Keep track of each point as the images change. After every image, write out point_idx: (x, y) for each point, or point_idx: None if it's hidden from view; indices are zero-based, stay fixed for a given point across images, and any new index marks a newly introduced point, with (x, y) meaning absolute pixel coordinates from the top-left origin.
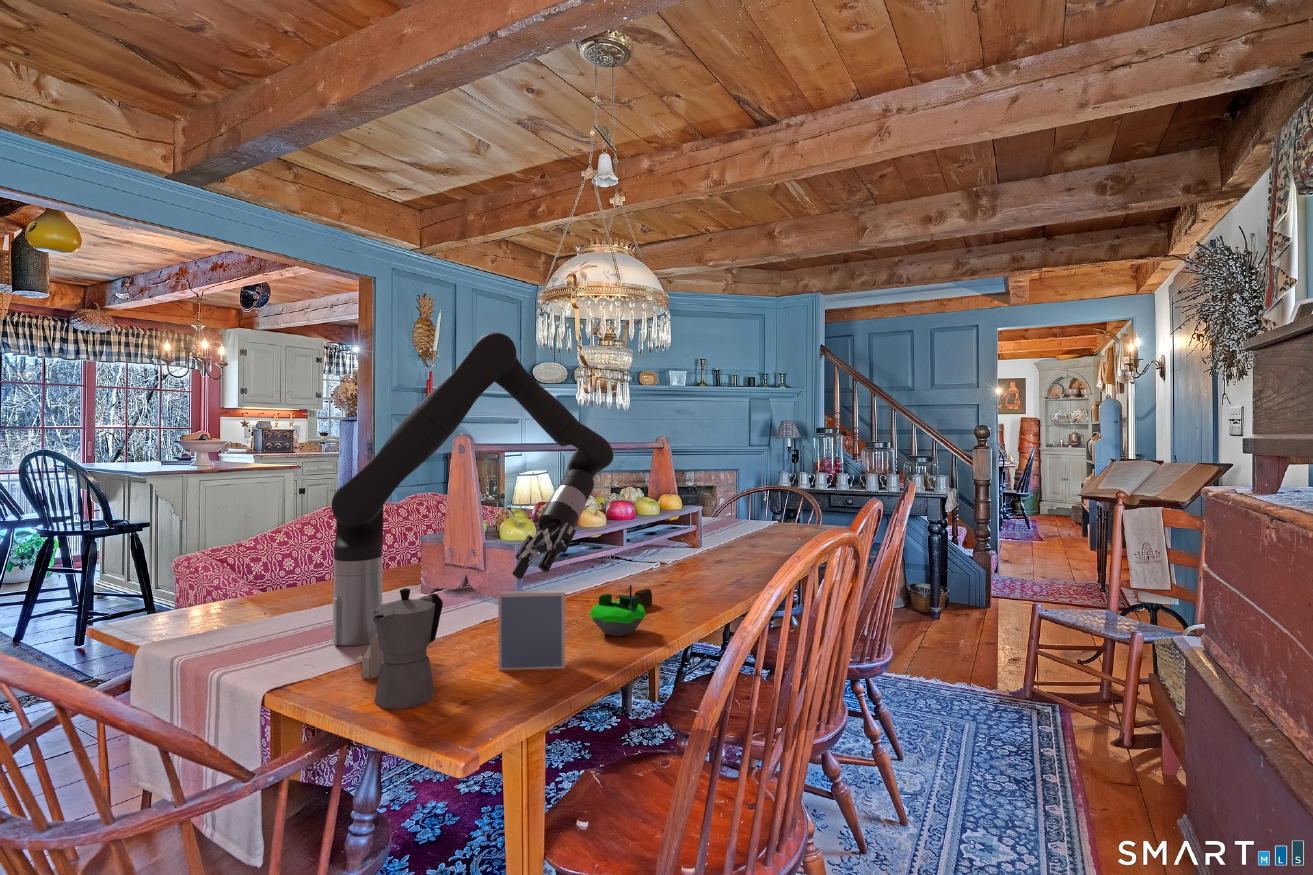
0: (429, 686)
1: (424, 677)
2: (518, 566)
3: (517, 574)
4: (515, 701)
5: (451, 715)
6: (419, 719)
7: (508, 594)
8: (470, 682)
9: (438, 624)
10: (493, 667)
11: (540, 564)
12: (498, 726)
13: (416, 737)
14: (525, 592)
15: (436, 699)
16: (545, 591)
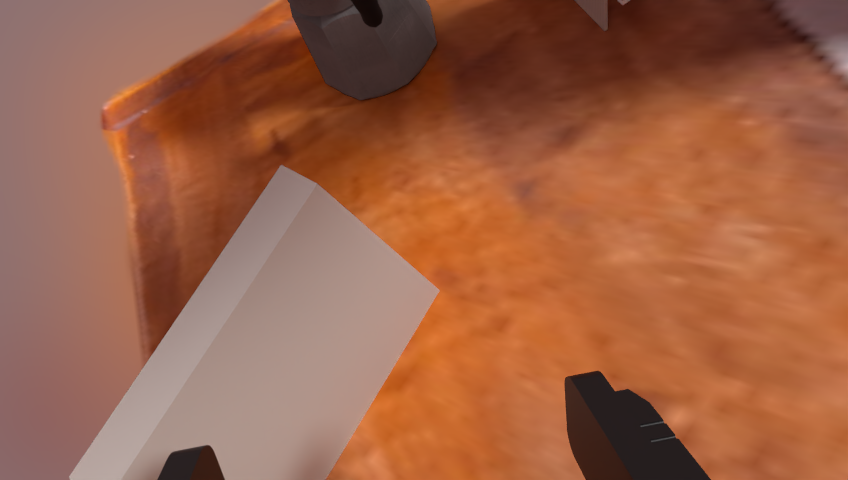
0: (329, 71)
1: (305, 42)
2: (597, 431)
3: (571, 409)
4: (215, 242)
5: (246, 116)
6: (270, 66)
7: (254, 210)
8: (378, 185)
9: (355, 2)
10: (446, 271)
11: (171, 454)
12: (154, 179)
13: (214, 58)
14: (213, 292)
15: (333, 102)
16: (157, 397)
